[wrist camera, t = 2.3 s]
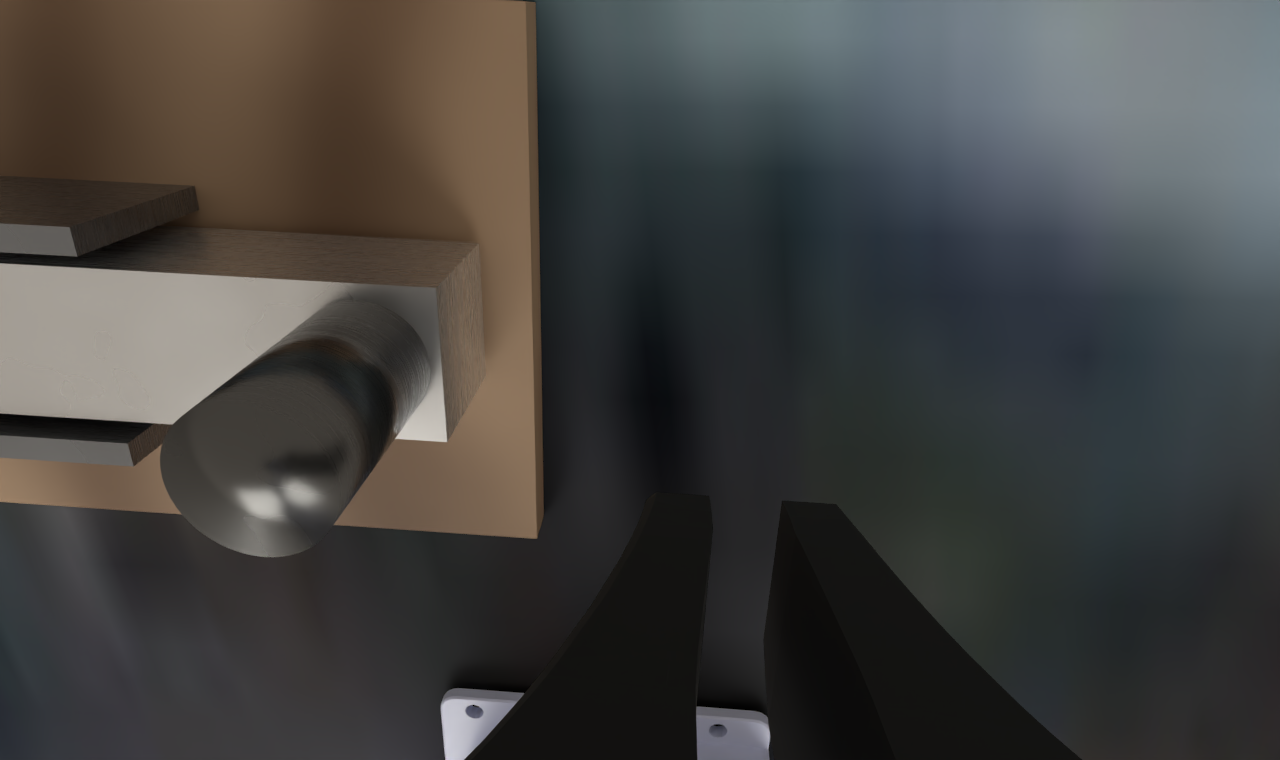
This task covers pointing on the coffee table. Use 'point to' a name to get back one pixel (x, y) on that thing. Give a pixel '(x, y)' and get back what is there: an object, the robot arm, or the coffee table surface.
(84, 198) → the channel
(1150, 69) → the coffee table surface
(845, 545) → the robot arm
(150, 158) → the guide board
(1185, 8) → the coffee table surface
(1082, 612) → the coffee table surface
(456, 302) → the bolt
